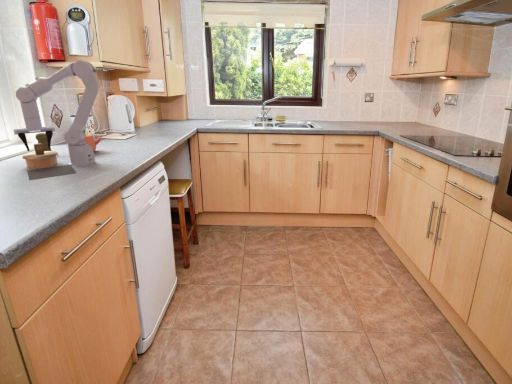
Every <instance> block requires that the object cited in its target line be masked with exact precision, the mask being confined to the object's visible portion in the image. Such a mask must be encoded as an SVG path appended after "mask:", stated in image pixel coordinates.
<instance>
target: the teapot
mask: <svg viewBox="0 0 512 384" xmlns="http://www.w3.org/2000/svg"><path fill="white" fill-rule="evenodd" d="M64 135H65V134H64ZM64 135H62V136H63V137H64ZM84 140H85V142H86V144H87V145H90V146H92V148H93V151H94V152H95V151H96V149H97V146H98V144H99V143H100V142H101V141H102V140H103V137H101V136H99V137H98V138H97V139H96V140H95V137H94V134H92V133H90V134H89V133H88V134H87V133H86V137H85V139H84Z"/></svg>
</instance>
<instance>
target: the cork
mask: <svg viewBox="0 0 512 384" xmlns="http://www.w3.org/2000/svg"><path fill="white" fill-rule="evenodd" d="M35 140H37V144H39V143H42V144H43V149H44V151H53V150H52V148H51V149H49V148H48V143H47V138H46V133H45V132H38V133H35Z"/></svg>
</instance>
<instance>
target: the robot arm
mask: <svg viewBox="0 0 512 384" xmlns="http://www.w3.org/2000/svg"><path fill="white" fill-rule="evenodd" d="M97 74H98V73H97V69H96V68H95V66H94V65H93V64H92V63H91V62H89V61H87V60H85V61H84V60H79V59H78V60H75V61H74V62H72V63H71V62H70V63H68V64H67V65H65V66H64V67H62V68H60V69H59V70H57V71H56V72H54V73H53V74H51V75H50V76H48V77H44V76H43V77H42V76H40V77H39V76H37V77H35V78H34V79H35V80H34V81H32V82H30V83H26V84H24V85H25V87H24V86H22V87H19V88H18V89H16V91H15V97H16V99H17V100H18V101H19V104H20V107H21V112H22V116H23V120H24V126H25V128H24V127H23V128H16V129H15V128H14V129H13V133H14V136H15V135H17V136H18V138H19V139H20V140H21V142H22V143H23V145H24V146H25V148H26V150H27V152H30V147H29V144H28V141H27V135H26V134H34V133H35V134H39V133H46V138H47V143H48V148H49V149H51V150H52V148H51V142H52V138H53V135H54V134H53V132H56V129H55V126H43V125H42V120H41V116H40V111H39V106H38V103H37V102H38V101H37V100H38V98H40V97H42V96H43V95H46V94H47V93H49V92H50V91H52V90H53V86H54V85H56V84H58V83H59V82H61V81H64V80H65V79H67V78H69V77H77V78H79V79H80V80H81V82H82V83H83V86H84V87H85V88H84V89H83V93H82V96H81V99H80V102H79V104H78V108H77V111H76V113H75V115H74V118H73V122H72V123H71V124H70V126H69V128H68V130H67V131H66V132H65V133H64V136H63V139H64V141H65V142H66V143H67V148H68V154H69V159H70V162H68V163H66V165H71V166H76V167H77V166H80V167H86V166H88V165H89V166H90V165H91V164H94V163H97V160H96V158H95V153H94V152H95V151H93V148H92V146H90V145H87V144H86V142H85V140H84V139H85V137H86V134H87V133H86V130H87V123H88V120H89V118H90V115H91V112H92V109H93V106H94V104H95V102H96V101H95V100H96V99H97V96H98V93H99V89H100V82H99V78H98V75H97Z"/></svg>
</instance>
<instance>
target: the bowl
mask: <svg viewBox="0 0 512 384" xmlns="http://www.w3.org/2000/svg"><path fill="white" fill-rule="evenodd" d="M24 161H25V164H26V167H27V168H29V169H40V168H47V167H55V166H56V165H57V164H58V159H57V156H54V157H50V158H45V159H35V160H28V159H24Z"/></svg>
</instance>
